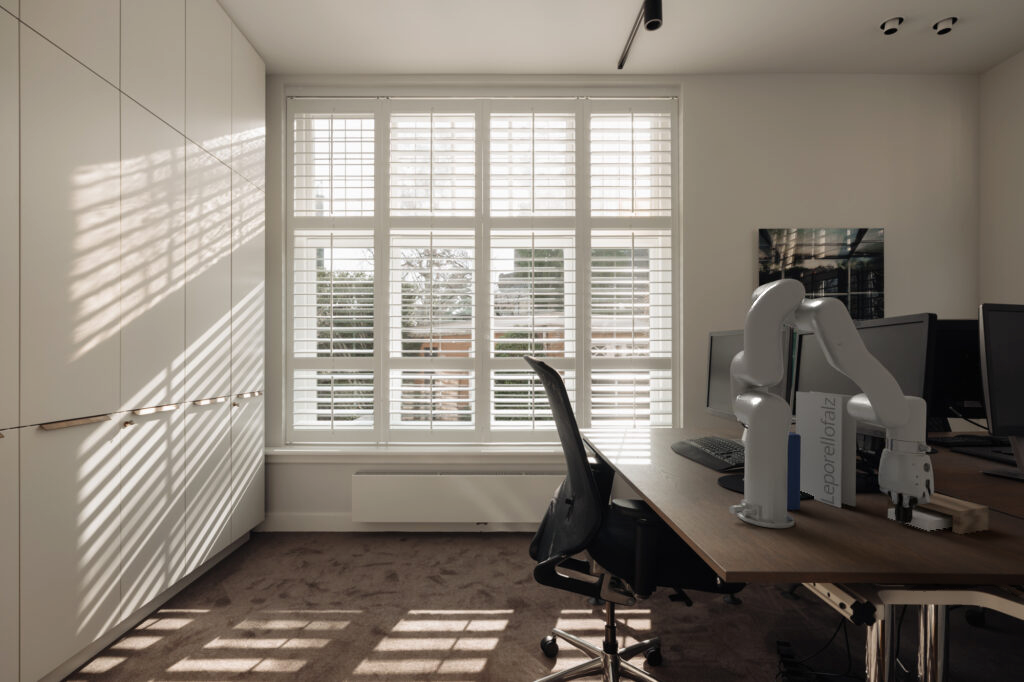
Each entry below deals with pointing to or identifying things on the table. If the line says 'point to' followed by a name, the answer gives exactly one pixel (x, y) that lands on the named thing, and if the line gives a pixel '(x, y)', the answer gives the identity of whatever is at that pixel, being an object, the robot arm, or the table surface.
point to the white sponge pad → (927, 518)
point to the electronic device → (793, 471)
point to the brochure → (827, 447)
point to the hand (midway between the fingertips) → (903, 521)
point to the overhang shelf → (958, 512)
